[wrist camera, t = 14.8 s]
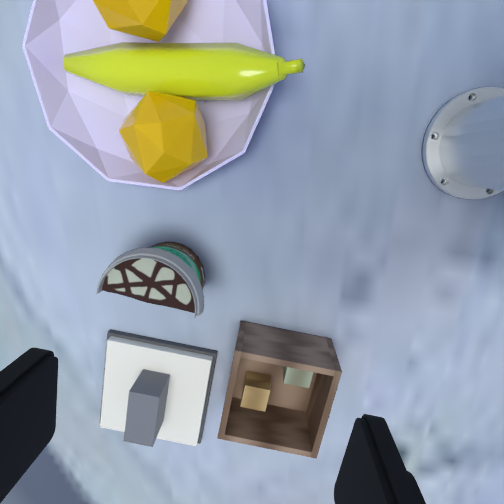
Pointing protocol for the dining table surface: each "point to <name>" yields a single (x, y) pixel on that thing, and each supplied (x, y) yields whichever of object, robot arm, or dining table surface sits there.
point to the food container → (158, 276)
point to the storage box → (281, 390)
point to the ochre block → (256, 391)
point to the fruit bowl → (154, 82)
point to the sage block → (297, 377)
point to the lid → (154, 392)
